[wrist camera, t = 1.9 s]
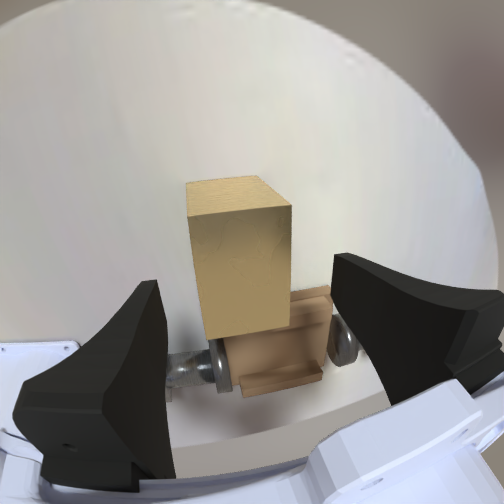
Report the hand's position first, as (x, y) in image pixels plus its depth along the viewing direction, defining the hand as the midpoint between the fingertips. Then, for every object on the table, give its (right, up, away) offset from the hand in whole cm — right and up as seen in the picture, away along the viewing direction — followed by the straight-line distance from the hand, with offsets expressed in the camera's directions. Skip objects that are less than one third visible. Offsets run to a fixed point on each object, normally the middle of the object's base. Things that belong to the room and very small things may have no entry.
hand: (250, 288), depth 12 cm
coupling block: (-1, +3, +6) cm, 7 cm away
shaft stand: (+2, -5, +10) cm, 12 cm away
